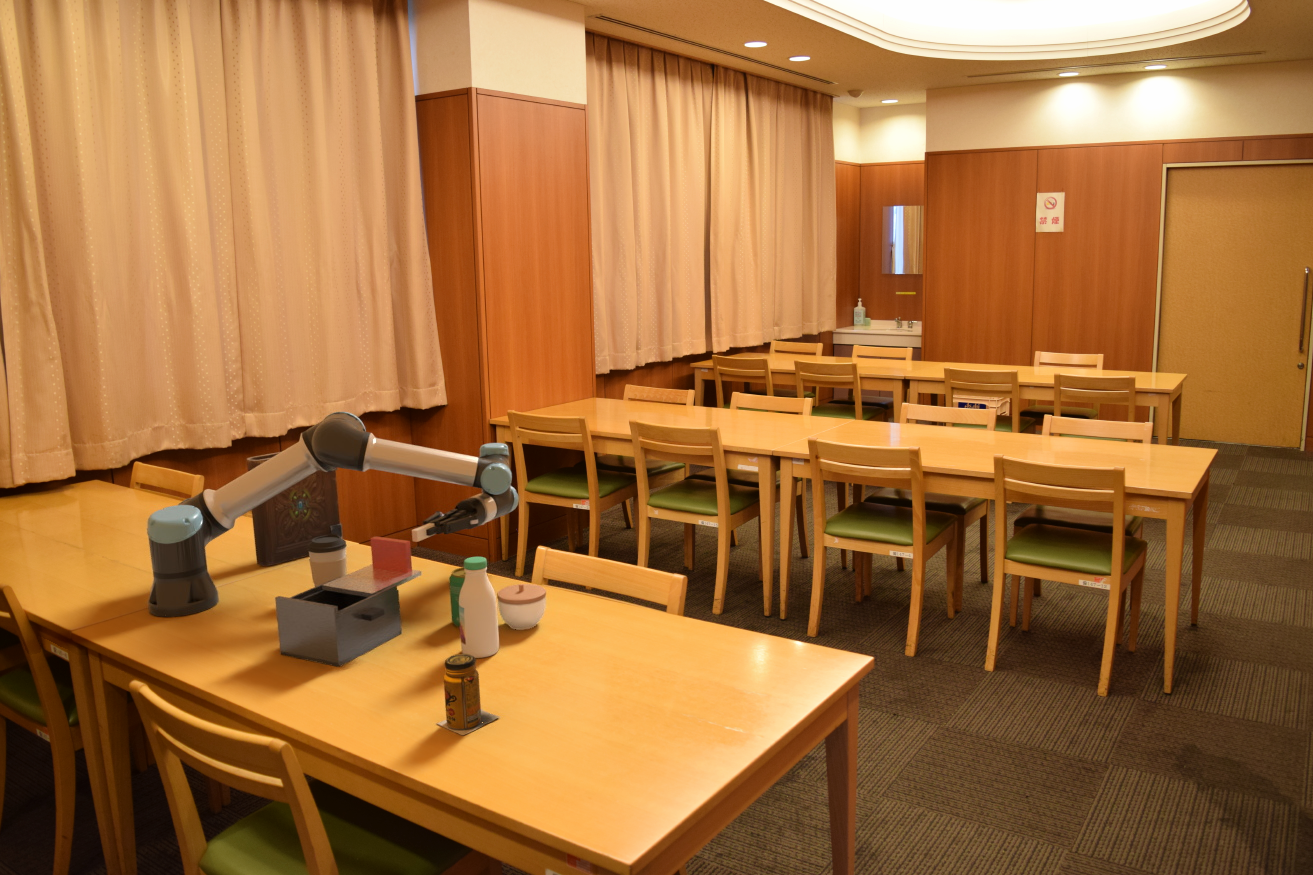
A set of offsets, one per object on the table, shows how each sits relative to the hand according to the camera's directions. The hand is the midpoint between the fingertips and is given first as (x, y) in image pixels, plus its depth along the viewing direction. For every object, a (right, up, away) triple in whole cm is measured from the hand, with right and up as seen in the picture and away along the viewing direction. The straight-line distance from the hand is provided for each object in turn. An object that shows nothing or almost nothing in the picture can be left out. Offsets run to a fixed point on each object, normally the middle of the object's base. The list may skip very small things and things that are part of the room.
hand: (414, 535), depth 227 cm
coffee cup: (-23, -16, +10) cm, 30 cm away
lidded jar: (+27, -19, -11) cm, 35 cm away
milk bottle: (+20, -22, -25) cm, 39 cm away
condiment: (+23, -27, -55) cm, 66 cm away
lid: (-6, -9, -12) cm, 16 cm away
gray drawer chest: (-11, -21, -19) cm, 30 cm away
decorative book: (-43, -10, +44) cm, 63 cm away
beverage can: (+15, -19, -9) cm, 25 cm away
